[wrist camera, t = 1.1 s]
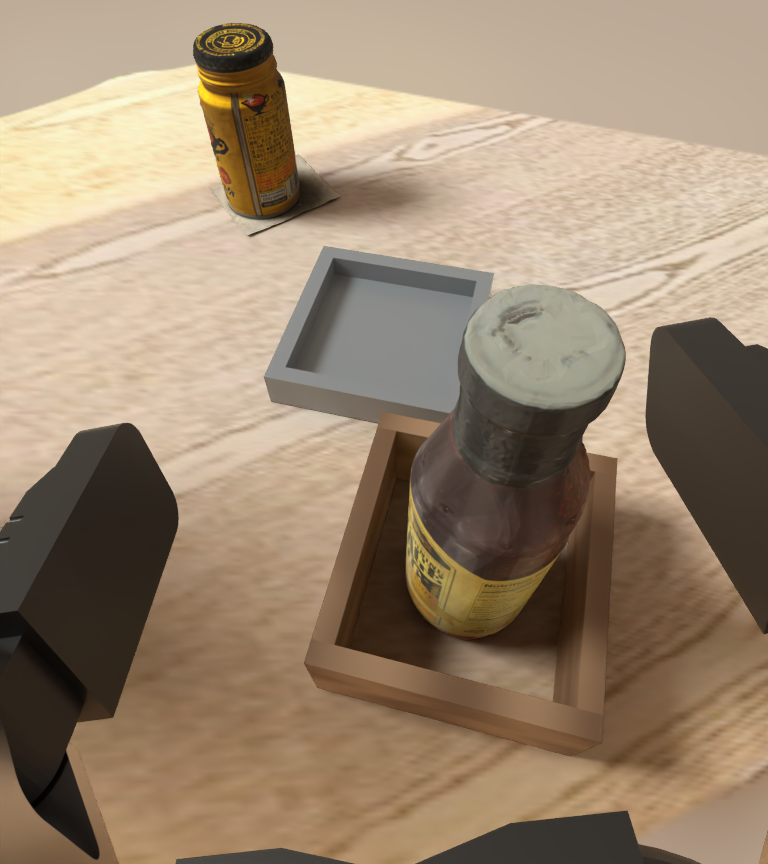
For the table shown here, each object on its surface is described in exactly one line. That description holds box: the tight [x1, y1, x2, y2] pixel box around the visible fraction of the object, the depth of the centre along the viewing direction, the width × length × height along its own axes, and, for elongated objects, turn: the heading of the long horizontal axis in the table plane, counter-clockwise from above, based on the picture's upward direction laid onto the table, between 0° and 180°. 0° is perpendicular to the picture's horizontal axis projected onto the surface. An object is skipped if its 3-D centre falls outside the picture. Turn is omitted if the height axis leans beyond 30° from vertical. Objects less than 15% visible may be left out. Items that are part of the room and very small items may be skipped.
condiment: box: [193, 23, 340, 235], centre depth 45 cm, size 7×8×12 cm
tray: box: [264, 246, 494, 423], centre depth 40 cm, size 12×12×2 cm
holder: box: [304, 412, 617, 756], centre depth 30 cm, size 12×13×5 cm
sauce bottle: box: [405, 285, 626, 640], centre depth 24 cm, size 6×6×20 cm
